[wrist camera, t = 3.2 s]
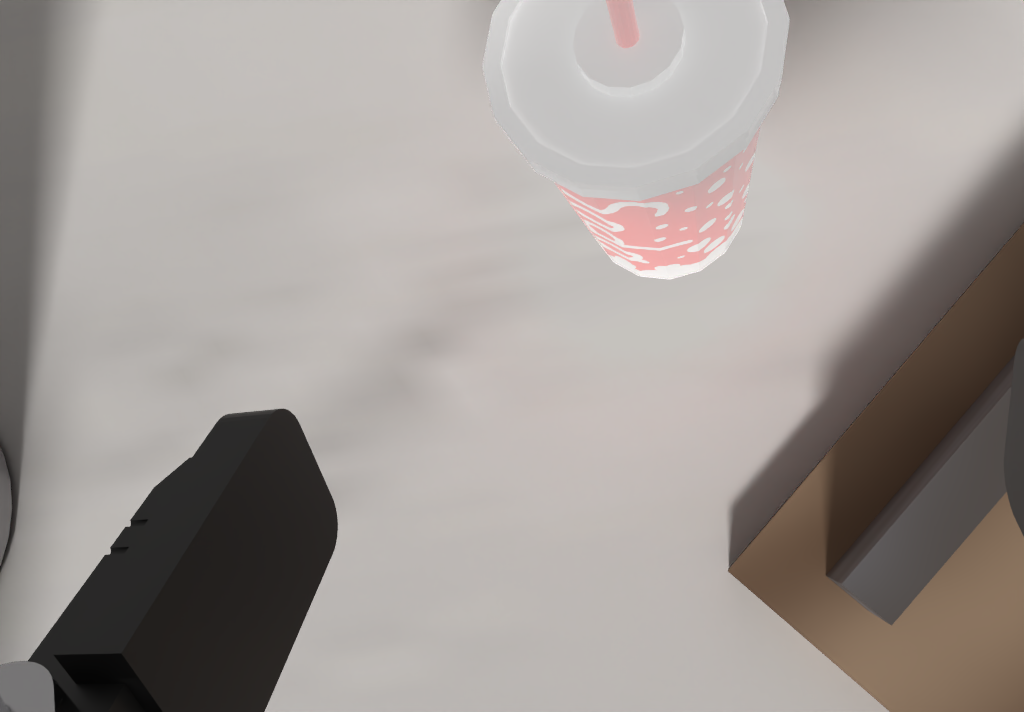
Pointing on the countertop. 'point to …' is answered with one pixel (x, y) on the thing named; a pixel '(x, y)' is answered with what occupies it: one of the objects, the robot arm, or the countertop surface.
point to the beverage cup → (641, 115)
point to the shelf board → (916, 523)
